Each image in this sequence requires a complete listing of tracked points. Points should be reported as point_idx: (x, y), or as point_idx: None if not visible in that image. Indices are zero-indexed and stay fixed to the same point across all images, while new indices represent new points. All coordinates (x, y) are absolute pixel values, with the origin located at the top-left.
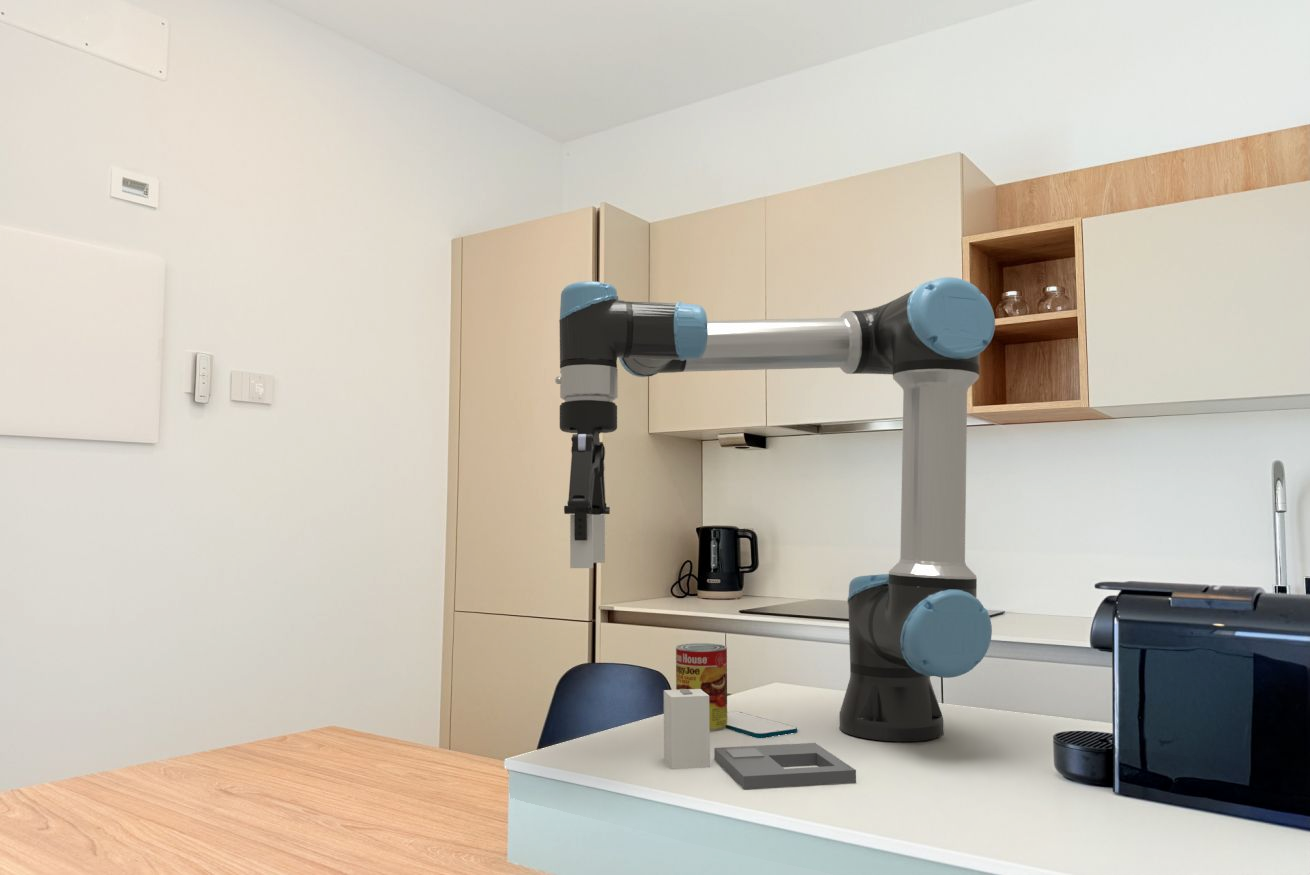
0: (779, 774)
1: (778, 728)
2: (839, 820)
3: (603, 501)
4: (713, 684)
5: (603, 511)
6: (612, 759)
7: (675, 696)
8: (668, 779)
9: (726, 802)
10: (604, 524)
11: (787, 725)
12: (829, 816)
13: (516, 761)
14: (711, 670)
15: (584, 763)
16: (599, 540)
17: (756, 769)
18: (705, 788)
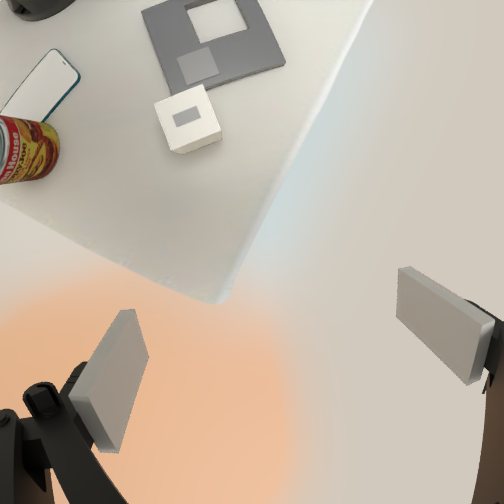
0: (272, 32)
1: (55, 65)
2: (349, 6)
3: (50, 437)
4: (29, 127)
5: (65, 408)
6: (193, 209)
7: (215, 125)
8: (260, 136)
9: (324, 79)
10: (87, 372)
11: (42, 61)
12: (342, 11)
13: (220, 302)
14: (21, 127)
15: (214, 234)
16: (120, 354)
17: (258, 51)
18: (285, 98)
